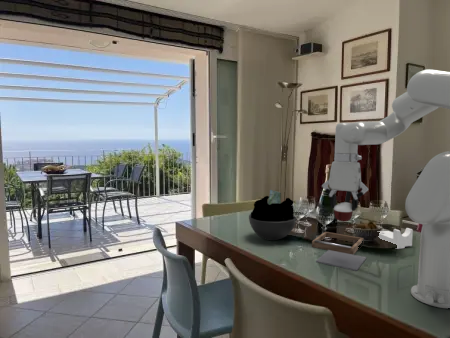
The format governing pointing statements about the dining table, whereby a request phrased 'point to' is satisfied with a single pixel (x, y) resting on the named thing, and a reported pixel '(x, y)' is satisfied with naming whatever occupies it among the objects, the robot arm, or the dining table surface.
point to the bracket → (398, 237)
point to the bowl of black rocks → (272, 218)
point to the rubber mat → (341, 260)
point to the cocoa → (344, 209)
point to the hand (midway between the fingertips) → (343, 208)
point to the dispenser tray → (336, 247)
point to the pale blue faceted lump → (274, 197)
